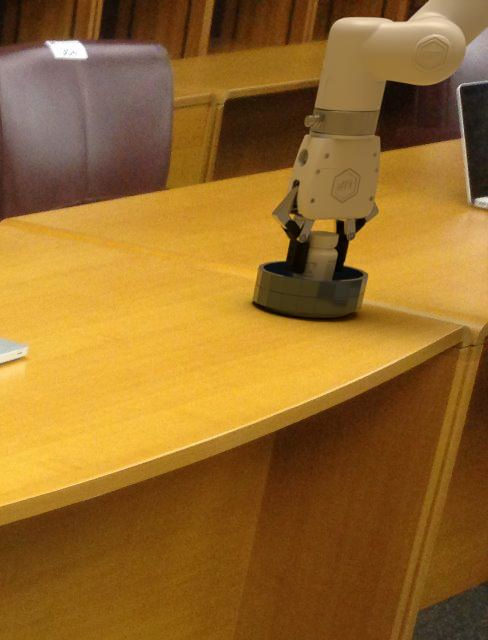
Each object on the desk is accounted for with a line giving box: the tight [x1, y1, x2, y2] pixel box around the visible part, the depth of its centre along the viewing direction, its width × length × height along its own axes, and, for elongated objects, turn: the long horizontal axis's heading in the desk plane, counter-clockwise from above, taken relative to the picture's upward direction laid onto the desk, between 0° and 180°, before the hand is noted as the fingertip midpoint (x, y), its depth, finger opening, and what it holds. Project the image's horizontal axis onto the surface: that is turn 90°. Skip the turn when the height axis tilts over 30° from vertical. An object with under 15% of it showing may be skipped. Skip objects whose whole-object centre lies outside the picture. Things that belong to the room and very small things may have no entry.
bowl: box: [252, 260, 369, 319], centre depth 201 cm, size 13×13×5 cm
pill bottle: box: [293, 230, 339, 280], centre depth 200 cm, size 5×5×8 cm
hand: (313, 269), depth 200 cm, fingers closed on pill bottle, 4 cm apart
